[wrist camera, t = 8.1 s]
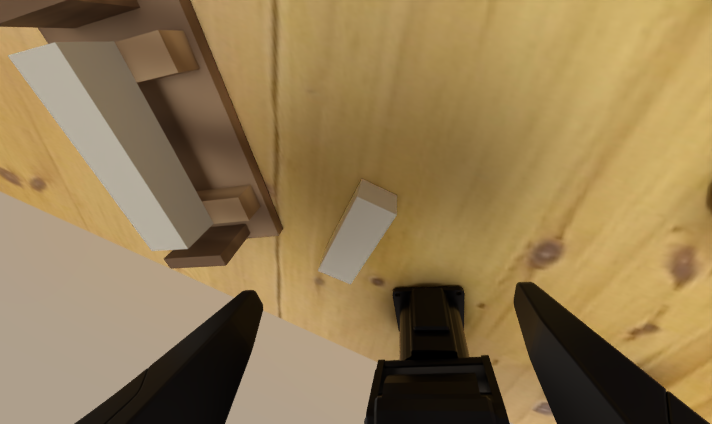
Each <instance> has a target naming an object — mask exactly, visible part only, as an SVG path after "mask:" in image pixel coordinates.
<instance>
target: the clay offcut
mask: <svg viewBox="0 0 712 424" xmlns="http://www.w3.org/2000/svg"><path fill="white" fill-rule="evenodd" d="M396 215H397V195H395V194H393V193H391V192H389V191H387V190H385V189H383V188H381V187H378V186H376V185H374V184H372V183H370V182H368V181H366V180H364V179H361V181H360V183H359V185H358V187H357V189H356V191H355V193H354V195H353V197H352V198H351V200H350V202H349V204H348V206H347V208H346V210H345V212H344V214H343V216H342V218H341V220H340V222H339V224H338V225H337V227H336V229H335V231H334V233H333V235H332V237H331V239H330V241H329V243H328V245H327V247H326V249H325V251H324V254H323V257H322V260H321V263H320V266H319V269H318V271H320V272H322V273H324V274H327V275H329V276H332V277H334V278H336V279H339V280H341V281H344V282H346V283H348V284H351V283H352V282H353V280H354V279H355V277H356V276H357V274H358V273H359V271H360V270H361V268H362V267H363V265H364V264H365V262H366V261H367V259H368V257H369V256H370V254H371V253H372V251H373V250H374V248H375V247H376V245H377V244H378V242H379V241H380V239H381V238H382V236H383V235H384V233H385V232H386V230H387V229H388V227H389V226H390V224H391V223H392V221H393V220H394V218H395V217H396Z"/></svg>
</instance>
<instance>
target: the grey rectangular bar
mask: <svg viewBox="0 0 712 424" xmlns="http://www.w3.org/2000/svg"><path fill="white" fill-rule="evenodd" d="M8 57H9V58H10V60H11V61H12V62H13V64H14V65H15V66H16V68H17V69H18V70H19V72H20V73H21V74H22V76H23V77H24V79H25V80H26V81H27V83H28V84H29V85H30V87H31V88H32V89H33V91H34V92H35V93H36V95H37V96H38V97H39V99H40V100H41V102H42V103H43V104H44V106H45V107H46V108H47V110H48V111H49V112H50V114H51V115H52V116H53V118H54V119H55V121H56V122H57V123H58V125H59V126H60V127H61V129H62V130H63V131H64V133H65V134H66V135H67V137H68V138H69V139H70V141H71V142H72V144H73V145H74V146H75V148H76V149H77V150H78V152H79V153H80V154H81V156H82V157H83V158H84V160H85V161H86V163H87V164H88V165H89V167H90V168H91V169H92V171H93V172H94V173H95V175H96V176H97V177H98V179H99V180H100V181H101V183H102V184H103V186H104V187H105V188H106V190H107V191H108V192H109V194H110V195H111V196H112V198H113V199H114V200H115V202H116V203H117V205H118V206H119V207H120V209H121V210H122V211H123V213H124V214H125V215H126V217H127V218H128V219H129V221H130V222H131V223H132V225H133V226H134V228H135V229H136V230H137V232H138V233H139V234H140V236H141V237H142V238H143V240H144V241H145V242H146V244H147V245H148V246H149V248H150V249H151V251H160V250H178V249H189V248H190V247H191V246H192V245H193V244H194V243H195V242H196V241H197V240H198V239H199V238H200V237H201V236H202V235H203V234H204V233H205V232H206V231H207V230H208V229H209V228H210V227H211V226H212V225H213V224H214V223H213V221H212V220H211V218H210V216H209V214H208V212H207V210H206V209H205V207H204V205H203V203H202V201H201V199H200V198H199V196H198V194H197V192H196V190H195V188H194V187H193V185H192V183H191V181H190V179H189V177H188V176H187V174H186V172H185V170H184V168H183V166H182V165H181V163H180V161H179V159H178V157H177V156H176V154H175V152H174V150H173V148H172V146H171V145H170V143H169V141H168V139H167V137H166V135H165V134H164V132H163V130H162V128H161V126H160V124H159V123H158V121H157V119H156V117H155V115H154V113H153V112H152V110H151V108H150V106H149V104H148V102H147V101H146V99H145V97H144V95H143V93H142V92H141V90H140V88H139V86H138V84H137V82H136V81H135V79H134V77H133V75H132V73H131V71H130V70H129V68H128V66H127V64H126V62H125V60H124V59H123V57H122V55H121V53H120V51H119V49H118V48H117V46H116V44H115V42H114V41H110V42H54V43H51V44H47V45H44V46H40V47H36V48H33V49H29V50H26V51H22V52H19V53H15V54H11V55H8Z"/></svg>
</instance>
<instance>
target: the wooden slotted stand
mask: <svg viewBox="0 0 712 424" xmlns="http://www.w3.org/2000/svg"><path fill="white" fill-rule="evenodd" d="M0 27H38V29H39V30H40V32H41V33H42V35H43V36H44V38H45V39H46V41H47V42H48V44H51V43H54V42H110V41H114V42H115V44H116V46H117V48H118V49H119V51H120V53H121V55H122V57H123V59H124V60H125V62H126V64H127V66H128V68H129V70H130V71H131V73H132V75H133V77H134V79H135V81H136V82H137V84H138V86H139V88H140V90H141V92H142V93H143V95H144V97H145V99H146V101H147V102H148V104H149V106H150V108H151V110H152V112H153V113H154V115H155V117H156V119H157V121H158V123H159V124H160V126H161V128H162V130H163V132H164V134H165V135H166V137H167V139H168V141H169V143H170V145H171V146H172V148H173V150H174V152H175V154H176V156H177V157H178V159H179V161H180V163H181V165H182V166H183V168H184V170H185V172H186V174H187V176H188V177H189V179H190V181H191V183H192V185H193V187H194V188H195V190H196V192H197V194H198V196H199V198H200V199H201V201H202V203H203V205H204V207H205V209H206V210H207V212H208V214H209V216H210V218H211V220H212V221H213V223H214V224H213V225H212V226H211V227H210V228H209V229H208V230H207V231H206V232H205V233H204V234H203V235H202V236H201V237H200V238H199V239H198V240H197V241H196V242H195V243H194V244H193V245H192V246H191V247H190V248H189V249H178V250H173V251H172V252H171V253H169V254H168V255H167V256H166V257H165V258H164V260H165V262H166V263H167V264H168V266H169V267H170V268H189V267H208V266H226V265H227V263H228V262H229V261H230V260H231V258H232V257H233V256H234V254H235V253H236V252H237V250H238V249H239V248H240V246H241V245H242V244H243V242H244V241H245V240H246V239H247V238H256V237H269V236H279V234H280V233H281V231H282V230H283V228H282V225H281V223H280V220H279V218H278V216H277V213H276V211H275V208H274V206H273V203H272V201H271V198H270V196H269V193H268V191H267V189H266V186H265V184H264V181H263V179H262V176H261V174H260V171H259V169H258V166H257V164H256V162H255V159H254V157H253V154H252V152H251V149H250V147H249V144H248V142H247V139H246V137H245V135H244V132H243V130H242V127H241V125H240V122H239V120H238V117H237V115H236V112H235V110H234V108H233V105H232V103H231V100H230V98H229V95H228V93H227V90H226V88H225V85H224V83H223V81H222V78H221V76H220V73H219V71H218V68H217V66H216V63H215V61H214V58H213V56H212V54H211V51H210V49H209V46H208V44H207V41H206V39H205V36H204V34H203V32H202V29H201V27H200V24H199V22H198V19H197V17H196V14H195V12H194V9H193V7H192V5H191V2H190V0H0Z"/></svg>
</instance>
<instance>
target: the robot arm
mask: <svg viewBox="0 0 712 424" xmlns="http://www.w3.org/2000/svg"><path fill="white" fill-rule="evenodd" d="M464 294H465V293H464V290H463V288H462V287H459V286H455V287H419V288H395V289H394V290H393V300H394V306H395V312H396V317H397V323H398V328H399V332H400V360H391V361H385V360H378V364H377V369H376V370H375V374H374V379H373V383H372V388H371V393H370V398H369V402H368V407H367V412H366V418H365V421H364V424H510V423H509V420H508V416H507V413H506V409H505V406H504V403H503V399H502V396H501V393H500V390H499V387H498V384H497V381H496V377H495V374H494V371H493V368H492V365H491V362H490V358H489V355H481V357H469V353H468V348H467V343H466V339H465V334H464ZM514 307H515V311H516V314H517V317H518V321H519V324H520V328H521V331H522V334H523V338H524V341H525V345H526V348H527V351H528V354H529V357H530V360H531V363H532V365H533V368H534V370H535V372H536V375H537V377H538V380H539V382H540V384H541V387H542V389H543V391H544V394H545V396H546V399H547V401H548V403H549V406H550V408H551V411H552V413H553V415H554V418H555V420H556V422H557V424H710V423H709V422H707V421H706V420H705V419H703V418H702V417H701V416H700V415H698V414H697V413H696V412H694V411H693V410H692V409H691V408H689V407H688V406H687V405H686V404H684V403H683V402H682V401H681V400H679V399H678V398H677V397H676V396H674V395H673V394H672V393H671V392H668V391H667V392H666V389H665V388H664V387H663V386H662V385H660V384H659V383H658V382H657V381H655V380H654V379H653V378H652V377H650V376H649V375H648V374H647V373H645V372H644V371H643V370H642V369H640V368H639V367H638V366H637V365H635V364H634V363H633V362H632V361H630V360H629V359H628V358H627V357H625V356H624V355H623V354H622V353H621V352H619V351H618V350H617V349H616V348H614V347H613V346H612V345H611V344H609V343H608V342H607V341H606V340H604V339H603V338H602V337H601V336H599V335H598V334H597V333H596V332H594V331H593V330H592V329H591V328H589V327H588V326H587V325H586V324H584V323H583V322H582V321H581V320H579V319H578V318H577V317H576V316H574V315H573V314H572V313H571V312H569V311H568V310H567V309H566V308H564V307H563V306H562V305H561V304H559V303H558V302H557V301H556V300H554V299H553V298H552V297H551V296H549V295H548V294H547V293H546V292H544V291H543V290H542V289H541V288H539V287H538V286H537V285H536V284H534V283H532V282H518V283H517V284H516V289H515V295H514ZM262 312H263V304H262V302H261V300H260V298H259V297H258V295H257V293H256V292H255V291H254V290H245V291H242V292H241V293H240V294H239V295H237V296H236V297H235V298H234V299H232V300H231V301H230V302H229V303H227V304H226V305H225V306H224V307H223V308H221V309H220V310H219V311H218V312H216V313H215V314H214V315H213V316H212V317H210V318H209V319H208V320H206V321H205V322H204V323H203V324H202V325H200V326H199V327H198V328H197V329H195V330H194V331H193V332H192V333H190V334H189V335H188V336H187V337H186V338H184V339H183V340H182V341H180V342H179V343H178V344H177V345H175V346H174V347H173V348H172V349H171V350H169V351H168V352H167V353H166V354H165V355H163V356H162V357H161V358H160V359H158V360H157V361H156V362H154V363H153V364H152V365H151V366H150V367H149V368H148V369H146V370H145V371H143V372H142V373H141V374H140V375H138V376H137V377H136V378H135V379H133V380H132V381H131V382H129V383H128V384H127V385H126V386H124V387H123V388H122V389H121V390H119V391H118V392H117V393H115V394H114V395H113V396H111V397H110V398H109V399H107V400H106V401H105V402H103V403H102V404H101V405H99V406H98V407H97V408H95V409H94V410H93V411H91V412H90V413H89V414H87V415H86V416H84V417H83V418H82V419H80V420H79V421H78V422H76V423H75V424H225V422H226V419H227V417H228V414H229V411H230V409H231V406H232V403H233V401H234V398H235V395H236V393H237V390H238V387H239V385H240V382H241V379H242V376H243V374H244V371H245V368H246V366H247V363H248V360H249V358H250V355H251V352H252V348H253V346H254V342H255V338H256V334H257V331H258V327H259V323H260V320H261V316H262Z"/></svg>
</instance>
